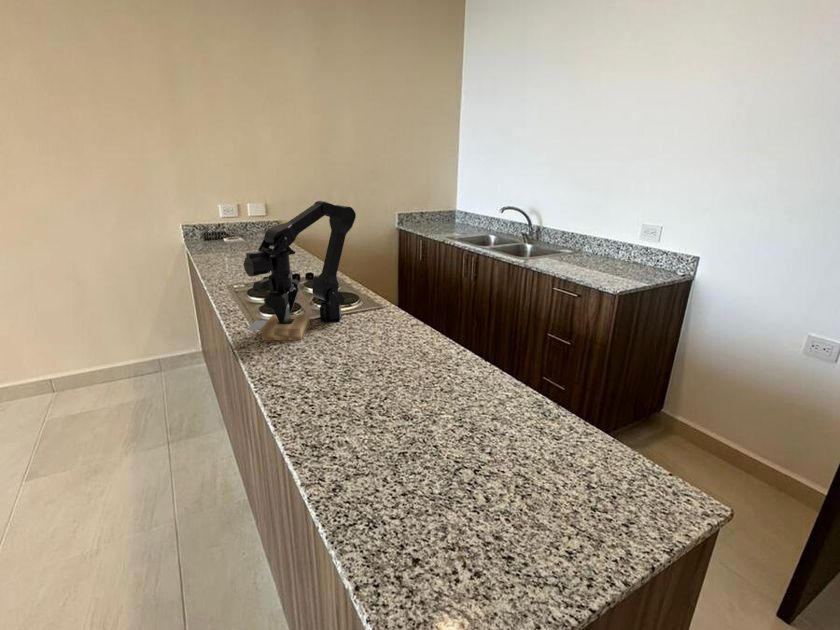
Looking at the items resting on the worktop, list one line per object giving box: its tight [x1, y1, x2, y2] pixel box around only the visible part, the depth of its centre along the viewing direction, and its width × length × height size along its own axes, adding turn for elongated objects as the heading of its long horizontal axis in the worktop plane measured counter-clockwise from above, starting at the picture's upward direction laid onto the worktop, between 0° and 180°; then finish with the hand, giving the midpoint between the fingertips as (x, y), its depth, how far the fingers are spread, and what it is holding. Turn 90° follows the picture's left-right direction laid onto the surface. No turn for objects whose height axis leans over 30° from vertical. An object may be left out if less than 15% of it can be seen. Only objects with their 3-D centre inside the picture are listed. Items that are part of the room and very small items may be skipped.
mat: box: [247, 319, 268, 331], centre depth 154 cm, size 7×8×1 cm
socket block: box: [260, 314, 311, 341], centre depth 148 cm, size 12×12×4 cm
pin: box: [281, 304, 291, 324], centre depth 147 cm, size 3×3×10 cm
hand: (285, 317), depth 147 cm, fingers open, 9 cm apart
